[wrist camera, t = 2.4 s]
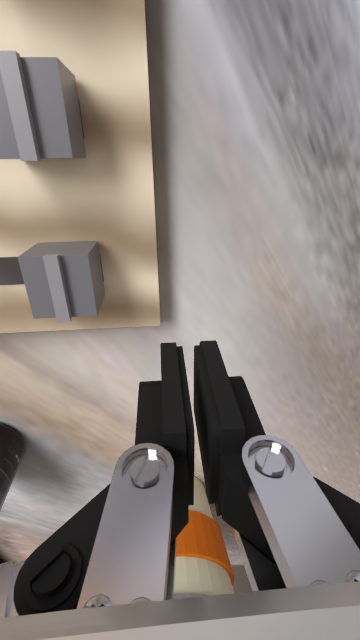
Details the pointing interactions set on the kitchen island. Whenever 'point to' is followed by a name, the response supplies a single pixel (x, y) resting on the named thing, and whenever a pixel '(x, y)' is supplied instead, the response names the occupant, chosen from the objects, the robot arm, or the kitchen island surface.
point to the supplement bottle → (9, 458)
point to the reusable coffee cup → (201, 553)
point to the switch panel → (86, 162)
